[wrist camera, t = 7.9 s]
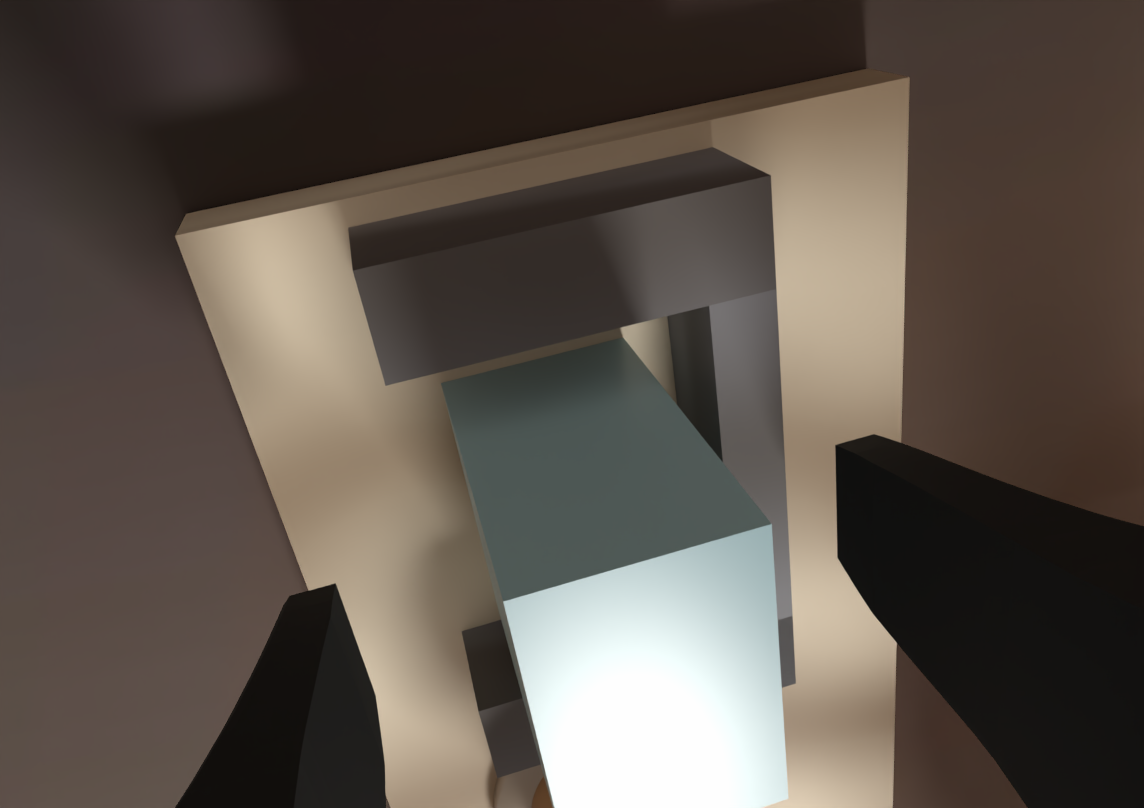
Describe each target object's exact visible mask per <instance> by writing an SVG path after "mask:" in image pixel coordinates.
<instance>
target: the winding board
mask: <svg viewBox="0 0 1144 808" xmlns="http://www.w3.org/2000/svg"><path fill="white" fill-rule="evenodd" d="M909 82H910V77H907V76H902V75H897V74H893V73H888V72H883V71H878V70H873V69H863V70H859V71H854V72H849V73H845V74H840V75H835V76H831V77H826V78H821V79H816V80H812V81H807V82H802V83H798V84H793V85H788V86H784V87H779V88H774V89H769V90H765V91H760V92H755V93H751V94H746V95H741V96H737V97H732V98H727V99H723V100H718V101H713V102H708V103H704V104H699V105H694V106H690V107H685V108H680V109H676V110H671V111H666V112H661V113H657V114H652V115H647V116H643V117H638V118H633V119H629V120H624V121H619V122H615V123H610V124H605V125H600V126H596V127H591V128H586V129H582V130H577V131H572V132H568V133H563V134H558V135H553V136H549V137H544V138H539V139H535V140H530V141H525V142H521V143H516V144H511V145H507V146H502V147H497V148H492V149H488V150H483V151H478V152H474V153H469V154H464V155H460V156H455V157H450V158H445V159H441V160H436V161H431V162H427V163H422V164H417V165H413V166H408V167H403V168H399V169H394V170H389V171H384V172H380V173H375V174H370V175H366V176H361V177H356V178H352V179H347V180H342V181H337V182H333V183H328V184H323V185H319V186H314V187H309V188H305V189H300V190H295V191H291V192H286V193H281V194H276V195H272V196H267V197H262V198H258V199H253V200H248V201H244V202H239V203H234V204H229V205H225V206H220V207H215V208H211V209H206V210H201V211H197V212H192V213H187V214H186V215H185V217H184V219H183V221H182V223H181V225H180V227H179V229H178V231H177V233H176V234H175V238H176V240H177V243H178V245H179V248H180V251H181V253H182V256H183V259H184V261H185V264H186V267H187V269H188V272H189V275H190V277H191V280H192V283H193V285H194V288H195V291H196V293H197V296H198V299H199V301H200V304H201V306H202V309H203V312H204V314H205V317H206V320H207V322H208V325H209V328H210V330H211V333H212V336H213V338H214V341H215V344H216V346H217V349H218V352H219V354H220V357H221V359H222V362H223V365H224V367H225V370H226V373H227V375H228V378H229V381H230V383H231V386H232V389H233V391H234V394H235V397H236V399H237V402H238V405H239V407H240V410H241V413H242V415H243V418H244V420H245V423H246V426H247V428H248V431H249V434H250V436H251V439H252V442H253V444H254V447H255V450H256V452H257V455H258V458H259V460H260V463H261V466H262V468H263V471H264V474H265V476H266V479H267V481H268V484H269V487H270V489H271V492H272V495H273V497H274V500H275V503H276V505H277V508H278V511H279V513H280V516H281V519H282V521H283V524H284V527H285V529H286V532H287V535H288V537H289V540H290V542H291V545H292V548H293V550H294V553H295V556H296V558H297V561H298V564H299V566H300V569H301V572H302V574H303V577H304V580H305V582H306V585H307V588H308V590H313V589H317V588H320V587H324V586H327V585H331V584H335V583H336V585H337V588H338V591H339V594H340V597H341V599H342V602H343V605H344V608H345V611H346V613H347V616H348V619H349V622H350V625H351V627H352V630H353V633H354V636H355V639H356V642H357V644H358V647H359V650H360V653H361V656H362V658H363V661H364V664H365V667H366V670H367V672H368V675H369V678H370V681H371V684H372V686H373V689H374V692H375V695H376V702H377V709H378V716H379V723H380V730H381V738H382V745H383V753H384V761H385V793H386V797H387V800H388V802H389V805H390V808H553V807H552V803H551V800H550V796H549V792H548V789H547V785H546V781H545V778H544V774H543V770H542V767H541V763H540V760H539V756H538V752H537V749H536V745H535V741H534V738H533V734H532V730H531V727H530V723H529V719H528V716H527V712H526V709H525V705H524V701H523V698H522V694H521V690H520V687H519V683H518V679H517V676H516V672H515V668H514V665H513V661H512V657H511V654H510V650H509V647H508V643H507V639H506V636H505V632H504V628H503V625H502V621H501V617H500V614H499V610H498V606H497V603H496V599H495V595H494V591H493V587H492V583H491V579H490V575H489V571H488V567H487V563H486V559H485V555H484V551H483V547H482V544H481V540H480V536H479V532H478V528H477V524H476V520H475V516H474V512H473V508H472V504H471V500H470V496H469V492H468V488H467V484H466V480H465V476H464V472H463V468H462V465H461V461H460V457H459V453H458V449H457V445H456V441H455V437H454V433H453V429H452V425H451V421H450V417H449V413H448V409H447V405H446V401H445V397H444V393H443V389H442V385H441V383H443V382H447V381H451V380H455V379H459V378H463V377H467V376H471V375H475V374H479V373H483V372H487V371H491V370H495V369H499V368H503V367H507V366H511V365H515V364H519V363H523V362H527V361H531V360H535V359H539V358H543V357H547V356H551V355H555V354H559V353H563V352H567V351H571V350H575V349H579V348H583V347H587V346H591V345H595V344H599V343H603V342H607V341H611V340H615V339H619V338H624V339H625V340H626V342H627V343H628V344H629V345H630V347H631V348H632V349H633V350H634V352H635V353H636V354H637V355H638V357H639V358H640V359H641V360H642V362H643V363H644V364H645V365H646V367H647V368H648V369H649V370H650V372H651V373H652V374H653V375H654V377H655V378H656V379H657V381H658V382H659V383H660V384H661V386H662V387H663V388H664V389H665V391H666V392H667V393H668V394H669V396H670V397H671V398H672V399H673V401H674V402H675V403H676V404H677V406H678V407H679V408H680V409H681V411H682V412H683V413H684V414H685V416H686V417H687V418H688V419H689V421H690V422H691V423H692V424H693V426H694V427H695V428H696V430H697V431H698V432H699V433H700V435H701V436H702V437H703V438H704V440H705V441H706V442H707V443H708V445H709V446H710V447H711V448H712V450H713V451H714V452H715V453H716V455H717V456H718V457H719V458H720V460H721V461H722V462H723V463H724V465H725V466H726V467H727V468H728V470H729V471H730V472H731V473H732V475H733V476H734V477H735V478H736V480H737V481H738V482H739V484H740V485H741V486H742V487H743V489H744V490H745V491H746V492H747V494H748V495H749V496H750V497H751V499H752V500H753V501H754V502H755V504H756V505H757V506H758V507H759V509H760V510H761V511H762V512H763V514H764V515H765V516H766V517H767V519H768V520H769V521H770V522H771V524H772V537H773V554H774V570H775V586H776V603H777V619H778V635H779V652H780V668H781V684H782V701H783V717H784V733H785V750H786V766H787V782H788V799H786V800H783V801H780V802H777V803H774V804H771V805H768V806H765V807H762V808H893V776H894V733H895V690H896V646H897V642H896V641H895V640H894V639H893V638H892V636H891V635H890V634H889V633H888V632H887V630H886V629H885V628H884V627H883V626H882V624H881V623H880V622H879V621H878V619H877V618H876V617H875V616H874V615H873V613H872V612H871V610H870V609H869V607H868V606H867V604H866V603H865V601H864V600H863V598H862V597H861V595H860V594H859V592H858V590H857V589H856V587H855V586H854V584H853V582H852V581H851V579H850V578H849V576H848V574H847V573H846V571H845V569H844V568H843V566H842V564H841V563H840V561H839V560H838V558H837V508H836V455H835V445H837V444H840V443H844V442H847V441H851V440H855V439H858V438H862V437H865V436H869V435H873V434H875V435H879V436H882V437H885V438H888V439H891V440H894V441H897V442H900V443H901V429H902V386H903V342H904V299H905V255H906V212H907V169H908V125H909Z"/></svg>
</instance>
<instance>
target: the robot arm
mask: <svg viewBox="0 0 1144 808" xmlns="http://www.w3.org/2000/svg"><path fill="white" fill-rule="evenodd" d="M835 455H836V508H837V558H838V560H839V561H840V563H841V564H842V566H843V568H844V569H845V571H846V573H847V574H848V576H849V578H850V579H851V581H852V582H853V584H854V586H855V587H856V589H857V590H858V592H859V594H860V595H861V597H862V598H863V600H864V601H865V603H866V604H867V606H868V607H869V609H870V610H871V612H872V613H873V615H874V616H875V617H876V618H877V619H878V621H879V622H880V623H881V624H882V626H883V627H884V628H885V629H886V630H887V632H888V633H889V634H890V635H891V636H892V638H893V639H894V640H895V641H896V642H897V644H898V645H899V646H900V647H901V648H902V650H903V651H904V652H905V653H906V654H907V655H908V657H909V658H910V659H911V660H912V661H913V663H914V664H915V665H916V666H917V667H918V668H919V670H920V671H921V672H922V673H923V674H924V675H925V677H926V678H927V679H928V680H929V681H930V682H931V684H932V685H933V686H934V687H935V688H936V689H937V691H938V692H939V693H940V694H941V695H942V696H943V698H944V699H945V700H946V701H947V702H948V703H949V705H950V706H951V707H952V708H953V709H954V710H955V712H956V713H957V714H958V715H959V716H960V718H961V719H962V720H963V721H964V722H965V723H966V725H967V726H968V727H969V728H970V729H971V730H972V732H973V733H974V734H975V735H976V737H977V738H978V739H979V740H980V742H981V743H982V744H983V746H984V747H985V748H986V749H987V751H988V752H989V753H990V754H991V756H992V757H993V758H994V760H995V761H996V762H997V764H998V765H999V767H1000V768H1001V770H1002V771H1003V773H1004V774H1005V775H1006V777H1007V778H1008V780H1009V781H1010V783H1011V784H1012V786H1013V787H1014V788H1015V790H1016V791H1017V793H1018V794H1019V796H1020V797H1021V799H1022V800H1023V801H1024V803H1025V804H1026V806H1027V807H1028V808H1144V526H1140V525H1136V524H1133V523H1129V522H1125V521H1121V520H1118V519H1114V518H1111V517H1107V516H1104V515H1100V514H1097V513H1093V512H1090V511H1087V510H1084V509H1081V508H1078V507H1075V506H1072V505H1069V504H1065V503H1062V502H1059V501H1056V500H1053V499H1050V498H1047V497H1044V496H1041V495H1038V494H1035V493H1033V492H1030V491H1027V490H1024V489H1021V488H1018V487H1016V486H1013V485H1010V484H1007V483H1005V482H1002V481H999V480H997V479H994V478H991V477H989V476H986V475H983V474H981V473H978V472H975V471H973V470H970V469H968V468H965V467H962V466H960V465H957V464H955V463H952V462H950V461H947V460H945V459H942V458H939V457H937V456H934V455H932V454H929V453H926V452H924V451H921V450H919V449H916V448H913V447H911V446H908V445H905V444H903V443H900V442H897V441H894V440H891V439H888V438H885V437H882V436H879V435H875V434H873V435H869V436H865V437H862V438H858V439H855V440H851V441H847V442H844V443H840V444H837V445H835ZM175 808H386V793H385V761H384V753H383V745H382V738H381V730H380V723H379V716H378V709H377V702H376V695H375V692H374V689H373V686H372V684H371V681H370V678H369V675H368V672H367V670H366V667H365V664H364V661H363V658H362V656H361V653H360V650H359V647H358V644H357V642H356V639H355V636H354V633H353V630H352V627H351V625H350V622H349V619H348V616H347V613H346V611H345V608H344V605H343V602H342V599H341V597H340V594H339V591H338V588H337V585H336V583H335V584H331V585H327V586H324V587H320V588H317V589H313V590H309V591H306V592H302V593H299V594H295V595H291V596H289V598H288V599H287V601H286V602H285V604H284V605H283V608H282V610H281V612H280V614H279V617H278V619H277V621H276V623H275V626H274V628H273V630H272V632H271V634H270V637H269V639H268V641H267V643H266V645H265V648H264V650H263V652H262V654H261V656H260V658H259V660H258V662H257V664H256V666H255V668H254V670H253V673H252V675H251V677H250V678H249V680H248V682H247V684H246V686H245V688H244V690H243V692H242V694H241V696H240V698H239V700H238V702H237V704H236V705H235V707H234V709H233V711H232V713H231V715H230V717H229V719H228V721H227V723H226V724H225V726H224V728H223V730H222V732H221V733H220V735H219V737H218V738H217V740H216V742H215V743H214V745H213V747H212V748H211V750H210V752H209V754H208V755H207V757H206V759H205V760H204V762H203V764H202V765H201V767H200V769H199V771H198V772H197V774H196V776H195V777H194V779H193V781H192V782H191V784H190V785H189V787H188V789H187V790H186V792H185V793H184V795H183V796H182V798H181V799H180V801H179V802H178V804H177V806H176V807H175Z"/></svg>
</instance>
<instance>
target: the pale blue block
mask: <svg viewBox="0 0 1144 808" xmlns="http://www.w3.org/2000/svg"><path fill="white" fill-rule="evenodd" d="M441 385H442V389H443V393H444V397H445V401H446V405H447V409H448V413H449V417H450V421H451V425H452V429H453V433H454V437H455V441H456V445H457V449H458V453H459V457H460V461H461V465H462V468H463V472H464V476H465V480H466V484H467V488H468V492H469V496H470V500H471V504H472V508H473V512H474V516H475V520H476V524H477V528H478V532H479V536H480V540H481V544H482V547H483V551H484V555H485V559H486V563H487V567H488V571H489V575H490V579H491V583H492V587H493V591H494V595H495V599H496V603H497V606H498V610H499V614H500V617H501V621H502V625H503V628H504V632H505V636H506V639H507V643H508V647H509V650H510V654H511V657H512V661H513V665H514V668H515V672H516V676H517V679H518V683H519V687H520V690H521V694H522V698H523V701H524V705H525V709H526V712H527V716H528V719H529V723H530V727H531V730H532V734H533V738H534V741H535V745H536V749H537V752H538V756H539V760H540V763H541V767H542V770H543V774H544V778H545V781H546V785H547V789H548V792H549V796H550V800H551V803H552V807H553V808H762V807H765V806H768V805H771V804H774V803H777V802H780V801H783V800H786V799H788V782H787V766H786V750H785V733H784V717H783V701H782V684H781V668H780V652H779V635H778V619H777V603H776V586H775V570H774V554H773V537H772V524H771V522H770V521H769V520H768V519H767V517H766V516H765V515H764V514H763V512H762V511H761V510H760V509H759V507H758V506H757V505H756V504H755V502H754V501H753V500H752V499H751V497H750V496H749V495H748V494H747V492H746V491H745V490H744V489H743V487H742V486H741V485H740V484H739V482H738V481H737V480H736V478H735V477H734V476H733V475H732V473H731V472H730V471H729V470H728V468H727V467H726V466H725V465H724V463H723V462H722V461H721V460H720V458H719V457H718V456H717V455H716V453H715V452H714V451H713V450H712V448H711V447H710V446H709V445H708V443H707V442H706V441H705V440H704V438H703V437H702V436H701V435H700V433H699V432H698V431H697V430H696V428H695V427H694V426H693V424H692V423H691V422H690V421H689V419H688V418H687V417H686V416H685V414H684V413H683V412H682V411H681V409H680V408H679V407H678V406H677V404H676V403H675V402H674V401H673V399H672V398H671V397H670V396H669V394H668V393H667V392H666V391H665V389H664V388H663V387H662V386H661V384H660V383H659V382H658V381H657V379H656V378H655V377H654V375H653V374H652V373H651V372H650V370H649V369H648V368H647V367H646V365H645V364H644V363H643V362H642V360H641V359H640V358H639V357H638V355H637V354H636V353H635V352H634V350H633V349H632V348H631V347H630V345H629V344H628V343H627V342H626V340H625V339H624V338H619V339H615V340H611V341H607V342H603V343H599V344H595V345H591V346H587V347H583V348H579V349H575V350H571V351H567V352H563V353H559V354H555V355H551V356H547V357H543V358H539V359H535V360H531V361H527V362H523V363H519V364H515V365H511V366H507V367H503V368H499V369H495V370H491V371H487V372H483V373H479V374H475V375H471V376H467V377H463V378H459V379H455V380H451V381H447V382H443V383H441Z"/></svg>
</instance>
